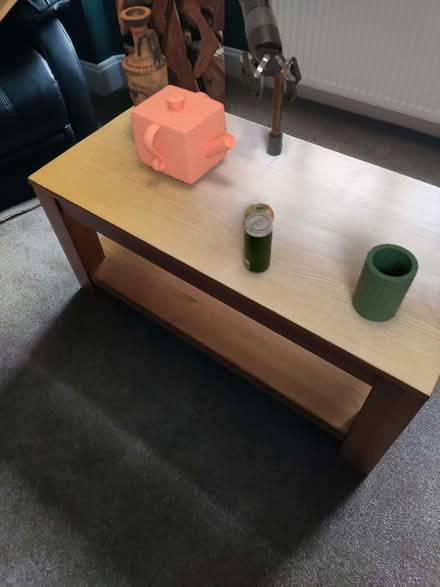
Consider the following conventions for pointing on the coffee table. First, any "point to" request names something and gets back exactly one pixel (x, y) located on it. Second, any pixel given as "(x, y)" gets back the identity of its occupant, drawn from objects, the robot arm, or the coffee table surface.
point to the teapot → (181, 133)
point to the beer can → (257, 243)
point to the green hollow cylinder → (384, 282)
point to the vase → (143, 57)
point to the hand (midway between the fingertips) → (276, 98)
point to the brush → (276, 117)
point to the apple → (259, 210)
